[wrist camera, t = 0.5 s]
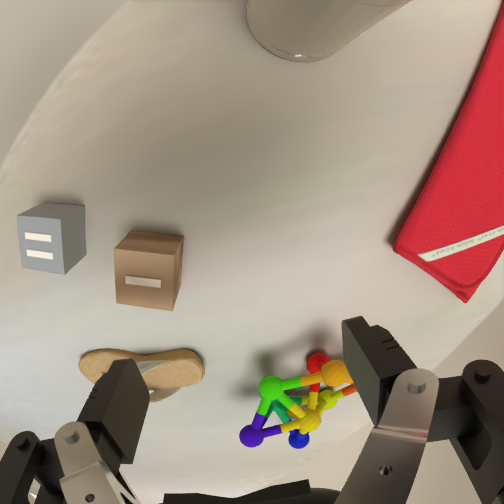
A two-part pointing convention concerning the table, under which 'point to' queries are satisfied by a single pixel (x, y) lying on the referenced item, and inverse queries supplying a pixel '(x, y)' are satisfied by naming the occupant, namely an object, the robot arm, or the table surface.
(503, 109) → the dish drying mat
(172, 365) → the sandal
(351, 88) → the table surface
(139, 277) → the walnut block
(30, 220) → the slate block
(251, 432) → the decorative model
